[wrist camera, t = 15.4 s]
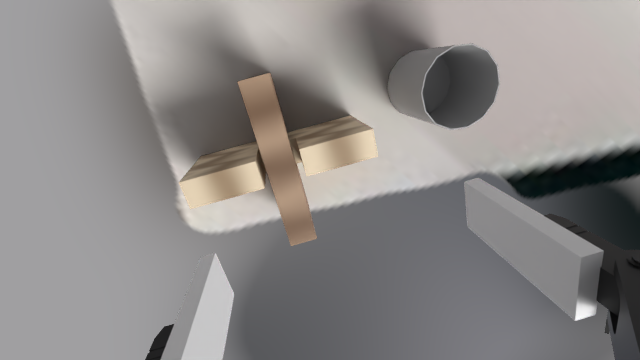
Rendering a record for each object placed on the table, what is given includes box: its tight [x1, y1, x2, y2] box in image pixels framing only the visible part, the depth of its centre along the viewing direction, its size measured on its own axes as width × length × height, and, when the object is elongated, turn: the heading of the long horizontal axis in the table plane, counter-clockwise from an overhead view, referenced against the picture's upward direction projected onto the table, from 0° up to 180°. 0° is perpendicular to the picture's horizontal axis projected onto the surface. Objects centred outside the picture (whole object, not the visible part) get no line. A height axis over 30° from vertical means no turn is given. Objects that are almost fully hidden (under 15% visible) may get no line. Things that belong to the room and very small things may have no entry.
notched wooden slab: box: [179, 115, 378, 209], centre depth 36 cm, size 20×3×10 cm, turn 104°
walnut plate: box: [238, 73, 317, 246], centre depth 36 cm, size 18×3×10 cm, turn 14°
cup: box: [387, 43, 500, 130], centre depth 36 cm, size 8×8×10 cm
